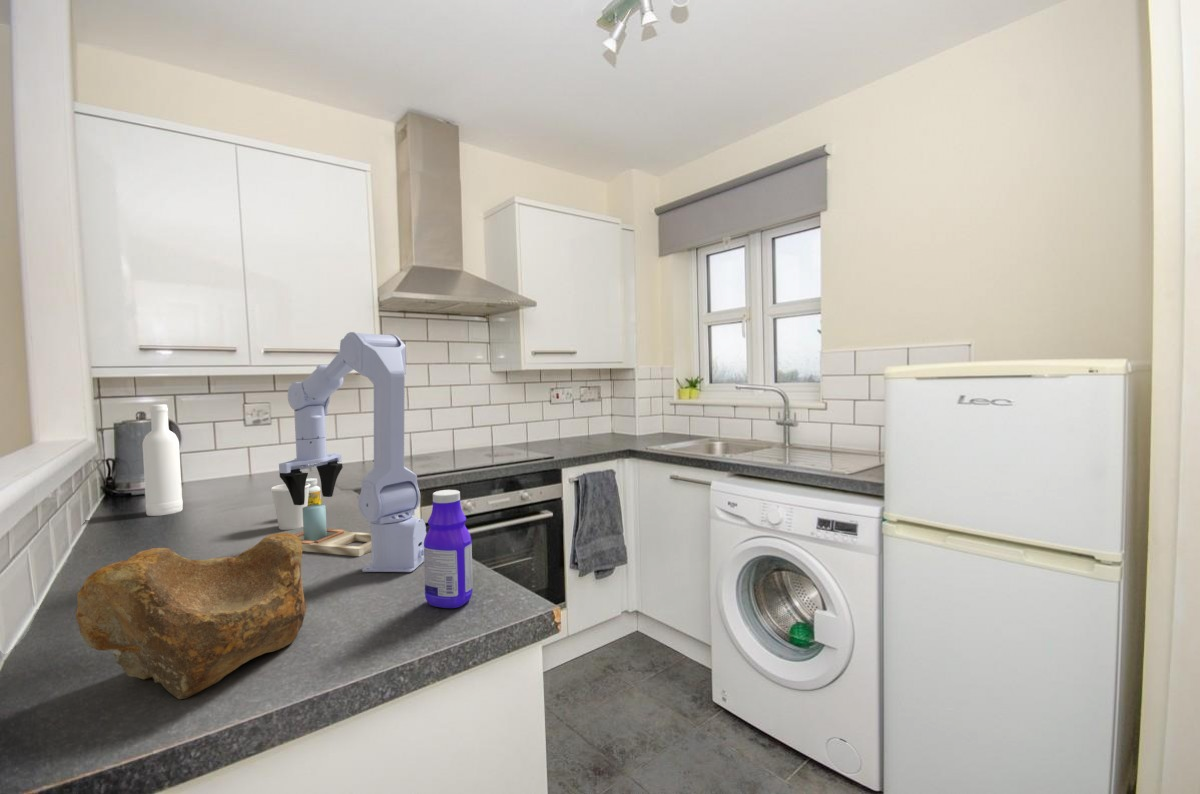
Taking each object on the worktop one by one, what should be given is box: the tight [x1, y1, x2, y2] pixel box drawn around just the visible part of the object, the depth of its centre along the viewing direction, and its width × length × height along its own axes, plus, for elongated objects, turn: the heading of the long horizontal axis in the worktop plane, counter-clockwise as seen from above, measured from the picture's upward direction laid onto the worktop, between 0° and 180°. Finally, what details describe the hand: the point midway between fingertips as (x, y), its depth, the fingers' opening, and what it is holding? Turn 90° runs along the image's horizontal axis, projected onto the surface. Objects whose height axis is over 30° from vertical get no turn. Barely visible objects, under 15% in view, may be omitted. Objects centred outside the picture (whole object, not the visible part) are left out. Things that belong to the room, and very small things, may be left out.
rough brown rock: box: [75, 532, 307, 700], centre depth 64 cm, size 23×17×15 cm
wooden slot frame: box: [294, 528, 371, 557], centre depth 112 cm, size 21×10×2 cm, turn 73°
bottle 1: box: [141, 403, 184, 517], centre depth 145 cm, size 8×8×30 cm
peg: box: [302, 504, 328, 541], centre depth 114 cm, size 4×4×8 cm
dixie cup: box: [270, 483, 310, 531], centre depth 128 cm, size 8×8×10 cm
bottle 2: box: [423, 489, 474, 609], centre depth 82 cm, size 7×6×17 cm
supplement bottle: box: [306, 477, 322, 506], centre depth 138 cm, size 5×5×10 cm
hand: (313, 500), depth 114 cm, fingers open, 7 cm apart
